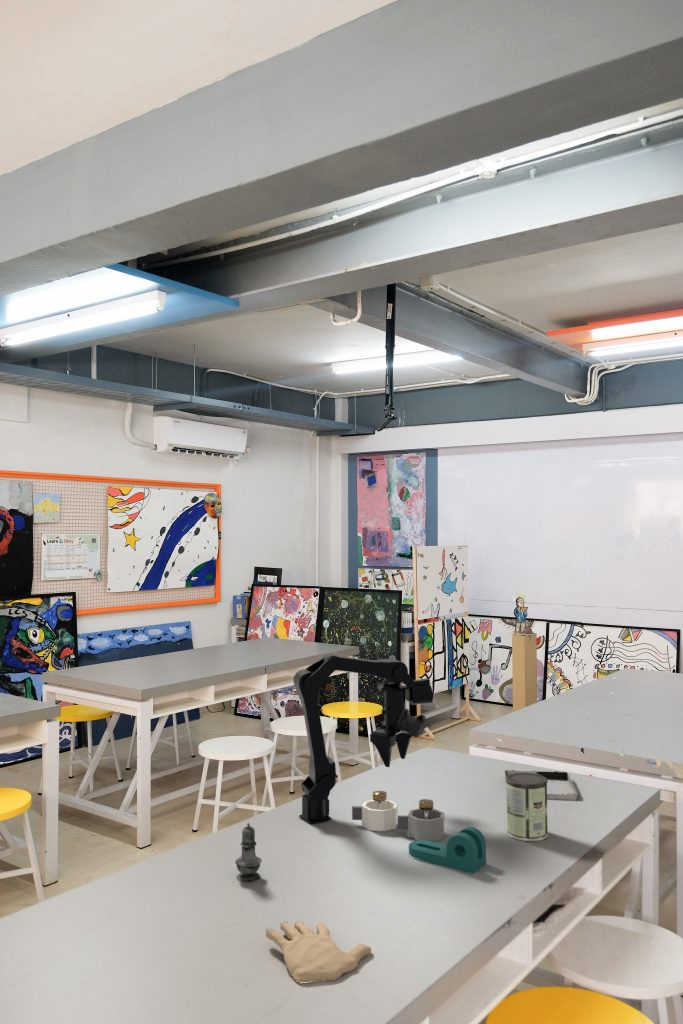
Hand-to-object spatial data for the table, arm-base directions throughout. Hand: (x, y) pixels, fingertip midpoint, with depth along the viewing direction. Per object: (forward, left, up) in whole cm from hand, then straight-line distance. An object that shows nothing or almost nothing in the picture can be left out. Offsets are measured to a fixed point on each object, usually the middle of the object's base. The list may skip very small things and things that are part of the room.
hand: (395, 762), depth 227 cm
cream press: (-10, -7, -13) cm, 18 cm away
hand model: (-56, -54, -14) cm, 79 cm away
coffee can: (+18, -32, -13) cm, 39 cm away
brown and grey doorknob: (-10, -7, -12) cm, 17 cm away
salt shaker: (-53, -18, -13) cm, 58 cm away
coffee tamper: (-4, -19, -12) cm, 23 cm away
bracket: (-10, -33, -13) cm, 37 cm away
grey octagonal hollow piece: (-4, -19, -13) cm, 23 cm away
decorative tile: (+48, -7, -14) cm, 50 cm away
